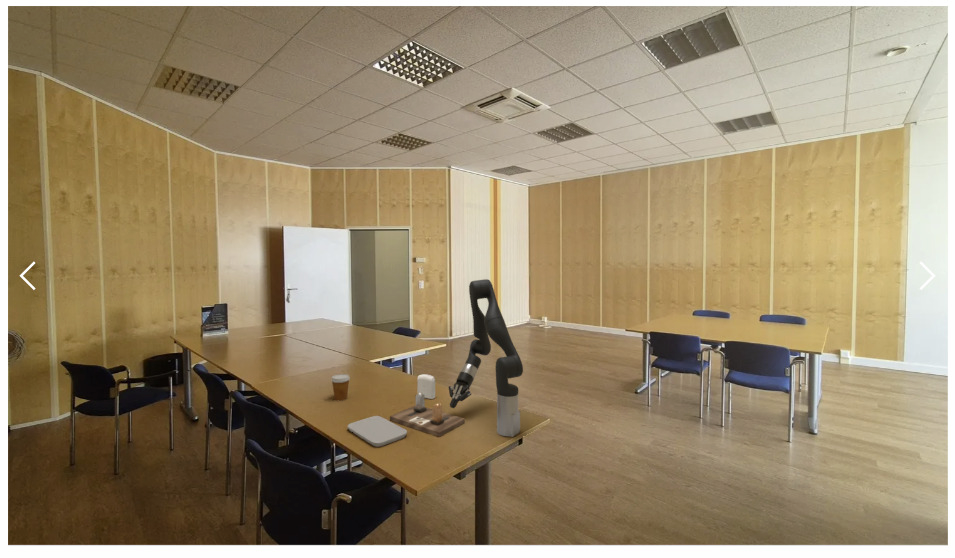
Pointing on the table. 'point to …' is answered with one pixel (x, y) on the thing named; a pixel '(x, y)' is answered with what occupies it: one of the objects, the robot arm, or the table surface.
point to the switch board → (427, 421)
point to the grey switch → (420, 402)
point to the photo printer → (426, 385)
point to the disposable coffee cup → (340, 386)
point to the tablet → (377, 431)
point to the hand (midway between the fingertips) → (451, 407)
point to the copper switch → (437, 414)
